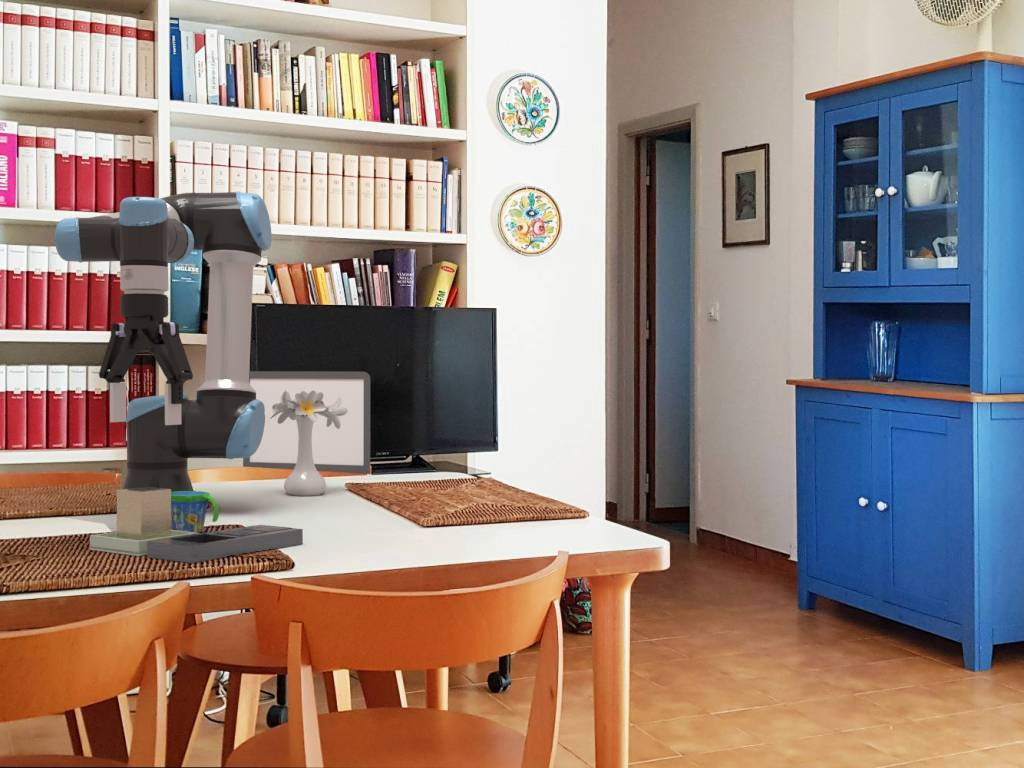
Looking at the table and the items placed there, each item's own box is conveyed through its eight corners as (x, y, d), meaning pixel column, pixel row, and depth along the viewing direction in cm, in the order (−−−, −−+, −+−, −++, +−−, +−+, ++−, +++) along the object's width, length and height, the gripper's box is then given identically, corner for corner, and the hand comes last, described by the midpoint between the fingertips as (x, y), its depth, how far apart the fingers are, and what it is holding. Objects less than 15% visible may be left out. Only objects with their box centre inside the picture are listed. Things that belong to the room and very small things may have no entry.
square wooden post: (116, 545, 191) (116, 488, 191) (146, 540, 196) (146, 486, 196) (141, 548, 188) (141, 491, 188) (170, 543, 193) (171, 488, 193)
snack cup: (227, 533, 210) (227, 491, 210) (203, 538, 203) (203, 496, 203) (171, 530, 214) (171, 489, 213) (146, 536, 206) (146, 493, 206)
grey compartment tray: (147, 557, 182) (147, 540, 182) (259, 539, 202) (260, 524, 202) (190, 563, 177) (190, 546, 177) (302, 544, 197) (302, 528, 197)
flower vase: (354, 498, 268) (354, 389, 268) (299, 506, 253) (299, 390, 252) (311, 495, 275) (312, 388, 275) (255, 502, 260) (255, 389, 259)
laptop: (180, 489, 290) (180, 371, 290) (245, 479, 318) (245, 371, 317) (317, 495, 277) (317, 371, 277) (372, 484, 305) (372, 371, 305)
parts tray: (89, 549, 190) (89, 535, 190) (149, 540, 200) (149, 527, 200) (138, 556, 183) (138, 541, 183) (198, 546, 193) (198, 532, 193)
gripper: (76, 294, 195) (77, 421, 196) (177, 290, 181) (178, 427, 182) (114, 296, 201) (115, 419, 202) (214, 292, 188) (215, 424, 188)
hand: (145, 423), depth 192 cm, fingers open, 13 cm apart
